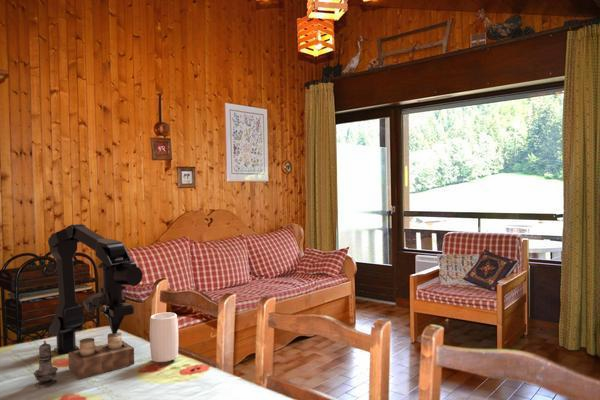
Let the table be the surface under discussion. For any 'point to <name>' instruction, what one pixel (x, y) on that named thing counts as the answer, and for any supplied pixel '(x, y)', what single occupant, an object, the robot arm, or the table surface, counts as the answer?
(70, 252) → the robot arm
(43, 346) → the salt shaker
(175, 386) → the table surface
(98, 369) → the walnut block
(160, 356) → the cup
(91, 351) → the peg near
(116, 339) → the peg far
